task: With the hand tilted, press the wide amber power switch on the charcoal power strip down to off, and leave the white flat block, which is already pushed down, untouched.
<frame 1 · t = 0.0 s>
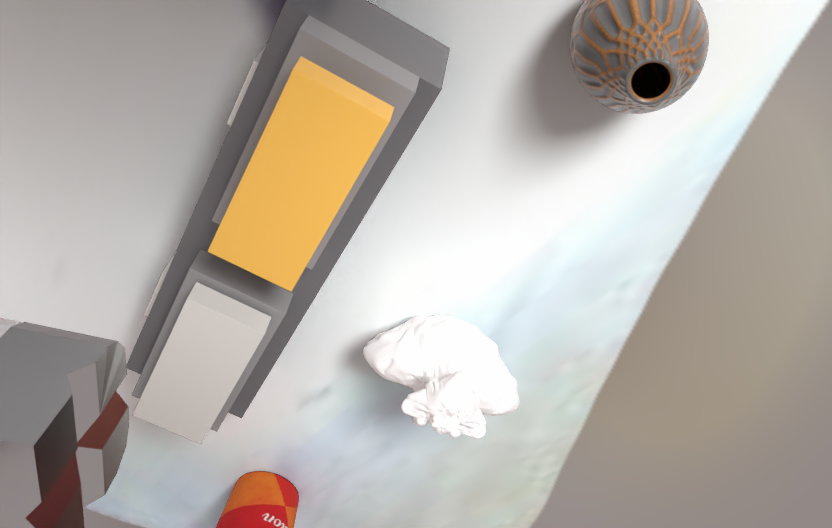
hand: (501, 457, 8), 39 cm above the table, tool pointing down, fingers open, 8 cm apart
vase: (629, 19, 44), on the table
coffee cup: (268, 489, 72), on the table
white flat block: (198, 368, 50), point 9 cm above the table, slide at 1.3 cm
power strip: (283, 200, 53), on the table
bust: (449, 333, 59), on the table
amber switch: (295, 183, 40), point 10 cm above the table, slide at 0.0 cm
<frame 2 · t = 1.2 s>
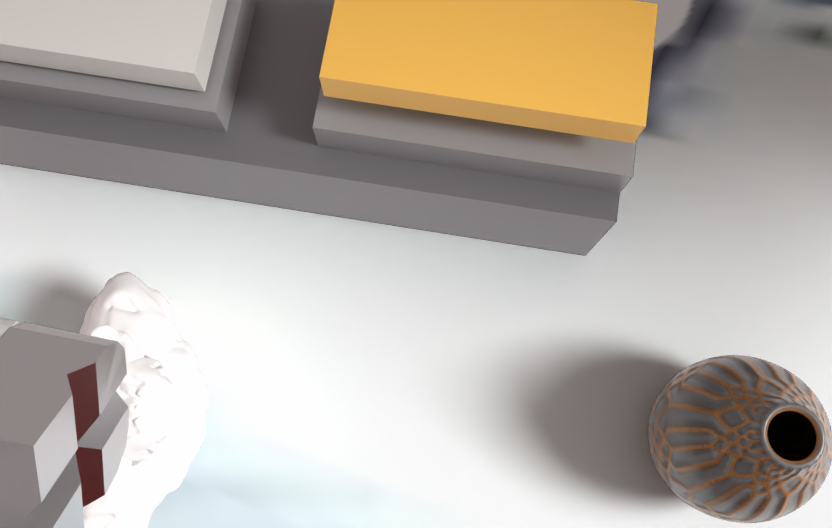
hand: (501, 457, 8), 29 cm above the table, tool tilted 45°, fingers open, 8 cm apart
vase: (703, 438, 37), on the table
white flat block: (67, 4, 31), point 9 cm above the table, slide at 1.3 cm
power strip: (304, 126, 40), on the table
bust: (155, 415, 37), on the table
amber switch: (488, 50, 30), point 10 cm above the table, slide at 0.0 cm
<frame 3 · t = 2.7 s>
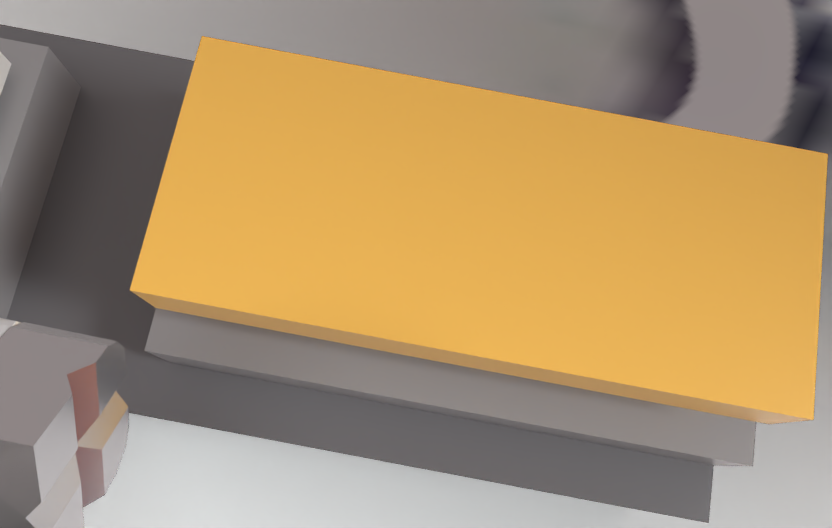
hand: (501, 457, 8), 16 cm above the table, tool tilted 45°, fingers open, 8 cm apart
power strip: (183, 275, 25), on the table
amber switch: (487, 231, 15), point 10 cm above the table, slide at 0.0 cm
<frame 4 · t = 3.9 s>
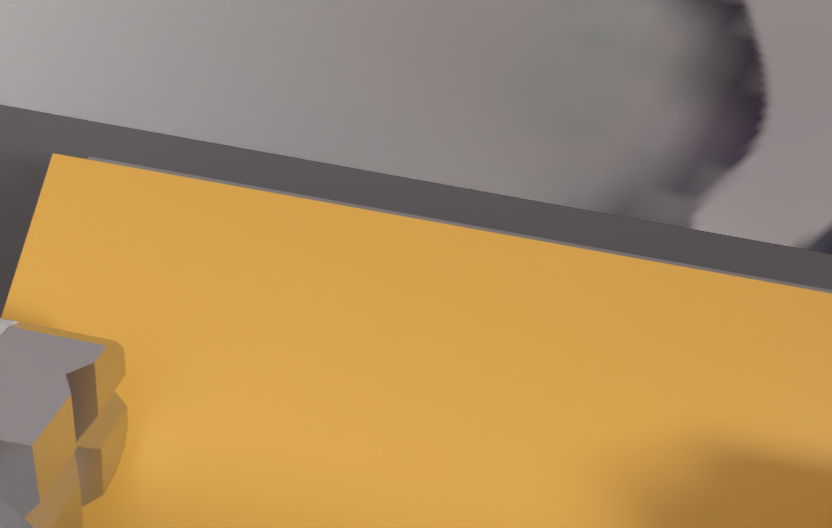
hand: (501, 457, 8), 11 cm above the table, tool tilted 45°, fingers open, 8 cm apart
power strip: (92, 391, 19), on the table
amber switch: (496, 448, 10), point 9 cm above the table, slide at 1.2 cm, touching gripper
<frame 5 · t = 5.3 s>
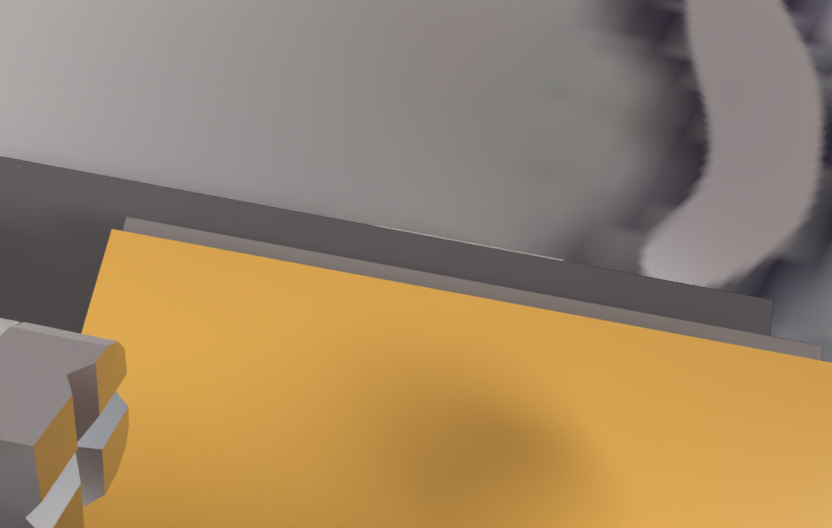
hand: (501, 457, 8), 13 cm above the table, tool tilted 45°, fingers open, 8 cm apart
power strip: (113, 403, 21), on the table
amber switch: (452, 457, 13), point 9 cm above the table, slide at 1.4 cm
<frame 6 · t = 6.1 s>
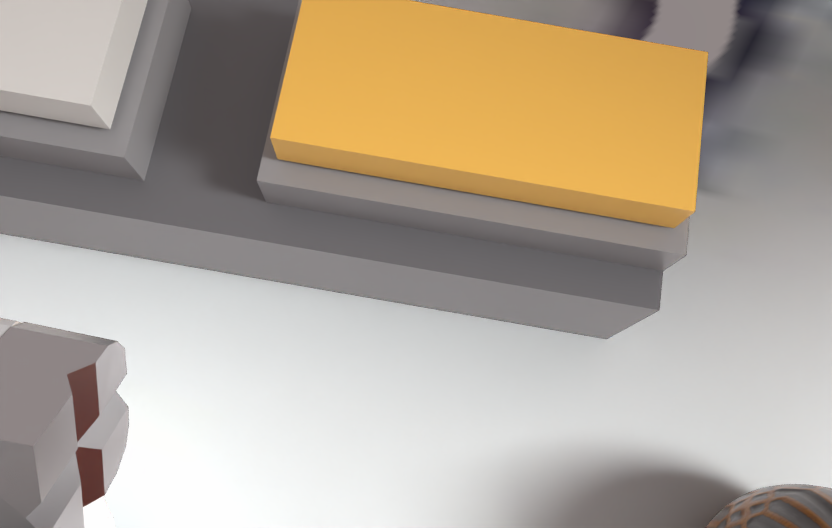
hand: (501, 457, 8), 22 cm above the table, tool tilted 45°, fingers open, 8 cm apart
power strip: (256, 168, 32), on the table
amber switch: (491, 106, 23), point 9 cm above the table, slide at 1.4 cm
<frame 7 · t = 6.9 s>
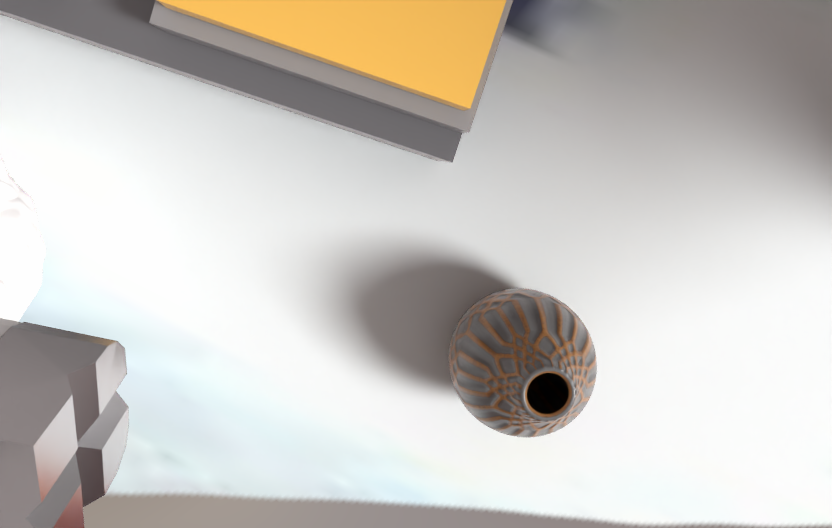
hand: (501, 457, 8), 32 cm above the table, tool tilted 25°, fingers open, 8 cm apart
vase: (505, 342, 41), on the table
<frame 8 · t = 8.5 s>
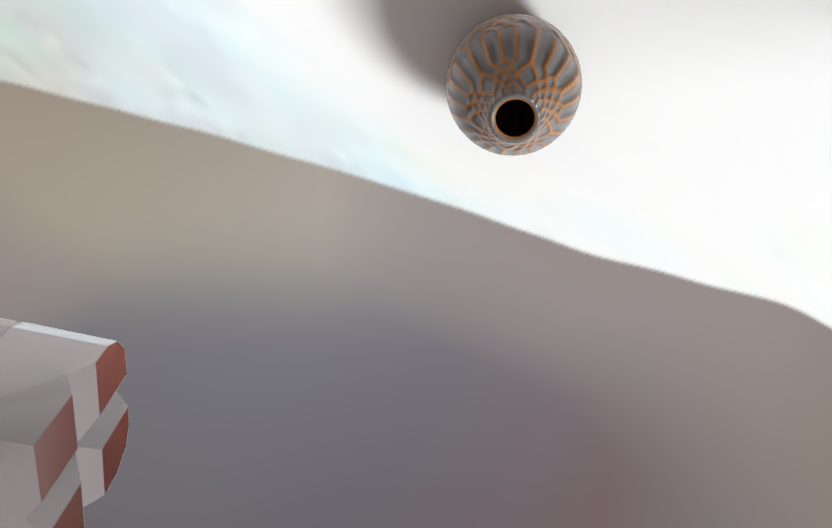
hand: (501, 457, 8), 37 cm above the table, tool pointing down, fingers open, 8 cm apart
vase: (512, 64, 43), on the table
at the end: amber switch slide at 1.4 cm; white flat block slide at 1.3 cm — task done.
